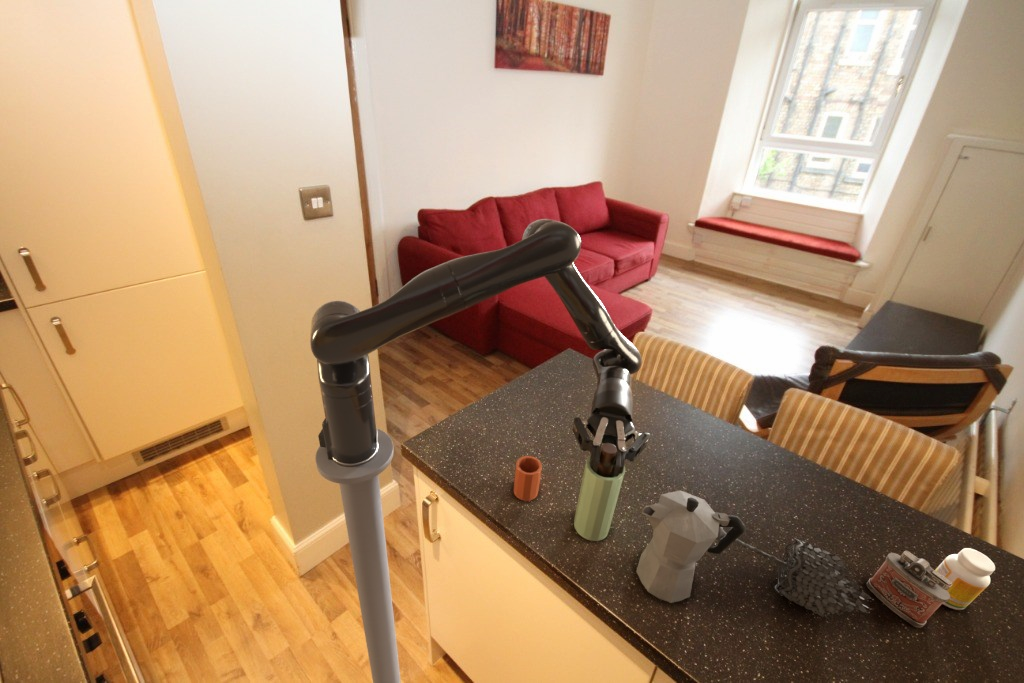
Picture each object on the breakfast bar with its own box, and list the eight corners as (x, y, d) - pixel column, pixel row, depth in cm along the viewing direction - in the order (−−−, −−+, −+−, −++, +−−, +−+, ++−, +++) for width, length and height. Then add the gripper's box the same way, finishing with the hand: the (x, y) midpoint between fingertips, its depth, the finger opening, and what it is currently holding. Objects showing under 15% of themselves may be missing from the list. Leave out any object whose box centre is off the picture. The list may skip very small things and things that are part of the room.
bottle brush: (585, 528, 80) (602, 453, 71) (583, 515, 82) (599, 441, 73) (600, 529, 80) (619, 454, 71) (598, 516, 82) (616, 442, 73)
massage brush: (714, 530, 82) (730, 495, 78) (855, 598, 73) (882, 562, 68) (704, 569, 75) (720, 533, 71) (858, 650, 65) (889, 614, 61)
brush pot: (513, 500, 85) (515, 473, 82) (513, 480, 89) (516, 455, 86) (538, 501, 85) (542, 475, 82) (537, 482, 89) (541, 456, 86)
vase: (575, 539, 78) (588, 478, 71) (572, 510, 84) (584, 450, 77) (611, 542, 79) (628, 481, 71) (605, 512, 84) (621, 453, 77)
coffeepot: (627, 599, 70) (653, 522, 61) (620, 546, 78) (642, 471, 69) (727, 611, 69) (768, 536, 60) (709, 557, 77) (743, 483, 68)
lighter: (862, 585, 75) (891, 547, 70) (873, 577, 76) (902, 539, 71) (917, 631, 69) (953, 593, 64) (927, 621, 70) (964, 583, 65)
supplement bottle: (916, 582, 76) (947, 546, 71) (939, 576, 77) (971, 540, 72) (950, 614, 71) (985, 578, 67) (973, 607, 73) (1010, 571, 68)
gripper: (578, 382, 85) (565, 441, 70) (654, 397, 82) (657, 462, 67) (573, 413, 88) (559, 476, 73) (645, 428, 86) (646, 497, 71)
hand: (606, 469), depth 70 cm, fingers closed
